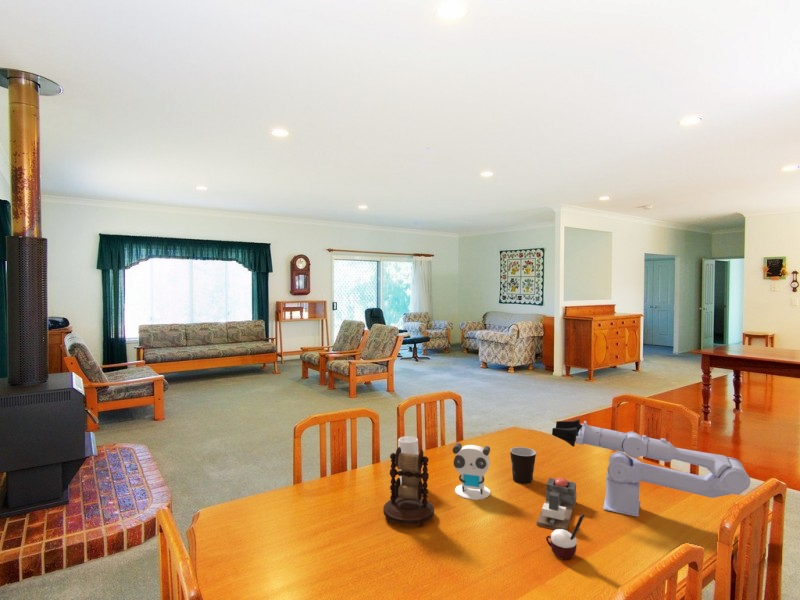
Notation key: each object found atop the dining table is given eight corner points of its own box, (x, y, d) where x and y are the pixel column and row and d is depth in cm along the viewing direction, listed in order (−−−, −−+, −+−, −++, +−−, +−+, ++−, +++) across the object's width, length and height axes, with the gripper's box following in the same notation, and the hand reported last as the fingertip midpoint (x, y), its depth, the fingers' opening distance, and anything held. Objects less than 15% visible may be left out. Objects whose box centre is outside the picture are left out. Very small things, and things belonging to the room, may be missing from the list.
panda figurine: (449, 496, 152) (449, 449, 151) (457, 481, 163) (457, 438, 162) (487, 502, 148) (488, 454, 148) (492, 487, 159) (493, 442, 158)
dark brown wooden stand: (438, 508, 144) (439, 442, 143) (428, 533, 130) (428, 460, 129) (391, 501, 148) (391, 437, 147) (376, 525, 134) (376, 454, 133)
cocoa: (542, 550, 123) (540, 504, 122) (562, 544, 125) (560, 499, 125) (568, 569, 114) (566, 519, 114) (589, 563, 116) (587, 514, 116)
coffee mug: (529, 487, 158) (530, 458, 158) (505, 481, 164) (505, 452, 163) (542, 476, 168) (543, 448, 167) (519, 470, 173) (519, 443, 172)
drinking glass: (418, 487, 158) (418, 443, 157) (397, 487, 158) (397, 442, 157) (417, 479, 165) (418, 436, 164) (398, 478, 165) (398, 435, 164)
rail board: (576, 502, 148) (577, 483, 148) (567, 532, 131) (568, 510, 130) (549, 496, 152) (549, 477, 152) (536, 525, 134) (537, 504, 134)
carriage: (566, 514, 137) (566, 493, 136) (563, 520, 133) (564, 499, 133) (544, 509, 139) (544, 489, 139) (541, 515, 136) (542, 494, 135)
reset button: (568, 485, 149) (568, 479, 148) (566, 490, 145) (566, 483, 145) (556, 483, 150) (556, 477, 150) (554, 487, 147) (554, 481, 147)
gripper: (603, 418, 153) (558, 409, 159) (599, 431, 140) (551, 421, 146) (601, 439, 153) (556, 430, 159) (597, 455, 140) (549, 444, 146)
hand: (554, 427), depth 153 cm, fingers open, 7 cm apart
